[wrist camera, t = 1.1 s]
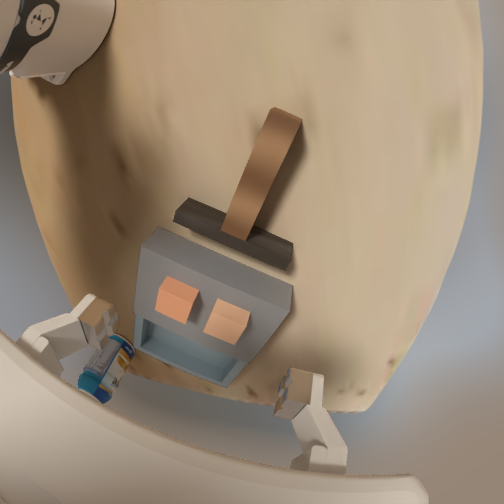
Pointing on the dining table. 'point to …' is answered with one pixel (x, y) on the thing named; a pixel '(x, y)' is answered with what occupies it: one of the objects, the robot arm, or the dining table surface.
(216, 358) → the box
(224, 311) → the tile
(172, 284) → the tile
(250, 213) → the wooden t-shaped pusher
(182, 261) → the grey slab
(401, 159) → the dining table surface
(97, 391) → the beverage bottle
